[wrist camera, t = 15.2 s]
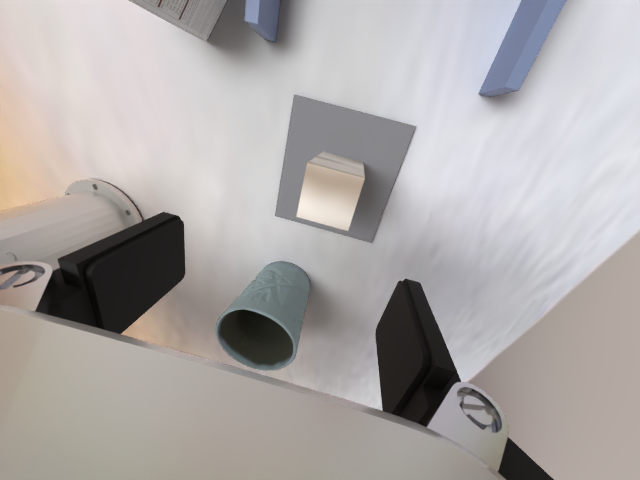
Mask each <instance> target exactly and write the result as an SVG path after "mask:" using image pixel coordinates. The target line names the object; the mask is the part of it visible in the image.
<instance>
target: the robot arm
mask: <svg viewBox="0 0 640 480" xmlns="http://www.w3.org/2000/svg"><path fill="white" fill-rule="evenodd" d="M184 275H185V250H184V223H183V221H182V220H181V219H180V217H179V216H176V215H173V214H169V213H165V212H163V213H160V214H158V215H156V216H153V217H151V218H149V219H147V220H144V221H142V219H141V216H140V214H139V212H138V211H137V209H136V207H135V206H134V204H133V203H132V202H131V201H130V200H129V199H128V197H126V196H125V195H124V194H123V193H122V192H121V191H119V190H118V189H117V188H115V187H114V186H112V185H110V184H108V183H106V182H103V181H100V180H95V179H85V180H80V181H76V182H74V183H72V184H71V185H70V186H69V187H68V188H67V190H66V192H65V196H61V197H57V198H53V199H49V200H44V201H40V202H36V203H32V204H27V205H23V206H19V207H15V208H10V209H6V210H2V211H0V480H554V479H552V478H551V477H550V476H549V475H548V474H547V473H546V472H545V471H544V470H543V469H542V468H541V467H540V466H538V465H537V464H536V463H535V462H534V461H533V460H532V459H531V458H530V457H529V456H528V455H527V454H526V453H525V452H524V451H522V450H521V449H520V448H519V447H518V446H517V445H516V444H515V443H514V442H513V441H512V440H511V439H509V438H508V434H509V426H508V423H507V420H506V417H505V415H504V414H503V412H502V410H501V408H500V407H499V406H498V405H497V404H496V402H495V401H494V400H493V399H492V398H491V397H490V396H489V395H488V394H487V393H485V392H484V391H483V390H481V389H480V388H478V387H476V386H474V385H472V384H470V383H466V382H461V380H460V378H459V375H458V373H457V370H456V368H455V366H454V363H453V361H452V358H451V356H450V354H449V351H448V349H447V346H446V344H445V341H444V339H443V337H442V334H441V332H440V329H439V327H438V324H437V323H436V320H435V318H434V316H433V313H432V311H431V308H430V306H429V303H428V301H427V299H426V296H425V294H424V291H423V289H422V286H421V284H420V283H419V282H416V281H412V280H408V279H404V280H403V281H399V282H398V284H397V286H396V288H395V290H394V292H393V294H392V296H391V298H390V300H389V302H388V305H387V307H386V309H385V311H384V313H383V315H382V317H381V319H380V321H379V323H378V326H377V328H376V344H377V355H378V366H379V376H380V387H381V397H382V408H383V411H381V410H378V409H374V408H371V407H368V406H365V405H362V404H358V403H355V402H352V401H349V400H346V399H342V398H339V397H336V396H332V395H329V394H326V393H322V392H319V391H315V390H312V389H309V388H305V387H302V386H298V385H295V384H292V383H288V382H285V381H281V380H278V379H275V378H271V377H268V376H264V375H261V374H257V373H254V372H251V371H247V370H244V369H240V368H237V367H233V366H230V365H226V364H223V363H219V362H216V361H212V360H209V359H205V358H202V357H198V356H195V355H191V354H188V353H184V352H181V351H177V350H174V349H170V348H167V347H163V346H160V345H156V344H153V343H149V342H146V341H142V340H139V339H135V338H131V337H128V336H124V335H121V333H122V332H123V331H125V330H126V329H127V328H128V327H129V326H130V325H131V324H132V323H134V322H135V321H136V320H137V319H138V318H139V317H140V316H142V315H143V314H144V313H145V312H146V311H147V310H148V309H150V308H151V307H152V306H153V305H154V304H155V303H156V302H157V301H159V300H160V299H161V298H162V297H163V296H164V295H165V294H167V293H168V292H169V291H170V290H171V289H172V288H173V287H175V286H176V285H177V284H178V283H179V282H180V281H181V280H182V279H183V278H184Z"/></svg>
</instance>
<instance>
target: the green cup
mask: <svg viewBox="0 0 640 480" xmlns="http://www.w3.org/2000/svg"><path fill="white" fill-rule="evenodd" d="M309 293H310V282H309V279H308V277H307V275H306V273H305V272H304V271H303V270H302V269H301V268H299V267H298V266H296V265H294V264H292V263H289V262H283V261H280V262H274V263H271V264H269V265H267V266H266V267H265V268H264V269H263V270H262V271H261V272H260V273H259V274H258V276H257V277H256V279H255V280H253V281H252V283H251V284H250V285H249V286H248V287H247V288H246V289H245V290H244V292H243V293H242V294H241V296H240V297H238V298H237V299H236V300H235V301H234V302H233V304H232V305H231V306H230V307H229V308H228V309H227V310H226V311H225V312H224V313H223V314H222V315H221V316H220V318H219V319H218V322H217V324H216V336H217V339H218V341H219V343H220V345H221V346H222V348H223V349H224V350H225V351H226V352H227V353H228V354H229V355H230V356H231V357H232V358H234V359H235V360H237V361H238V362H240V363H242V364H244V365H246V366H248V367H251V368H254V369H259V370H278V369H281V368H284V367H286V366H287V365H289V364H290V363H291V362H292V361H293V360H294V358H295V356H296V353H297V347H298V342H299V338H300V332H301V329H302V324H303V318H304V312H305V309H306V306H307V301H308V297H309Z"/></svg>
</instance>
